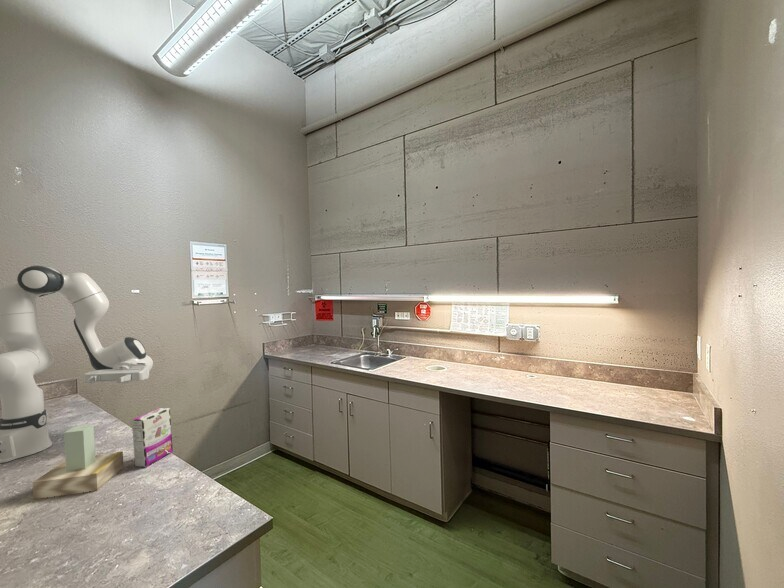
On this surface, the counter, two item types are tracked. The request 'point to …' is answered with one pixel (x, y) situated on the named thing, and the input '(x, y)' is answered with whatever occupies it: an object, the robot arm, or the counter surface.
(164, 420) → the candy bar box
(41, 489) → the dock
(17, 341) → the robot arm
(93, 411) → the counter surface
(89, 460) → the pale green block
